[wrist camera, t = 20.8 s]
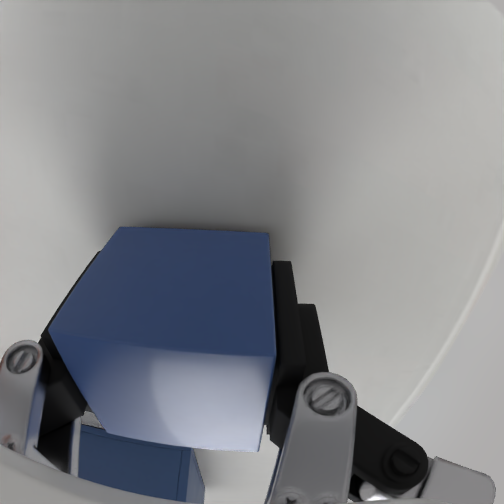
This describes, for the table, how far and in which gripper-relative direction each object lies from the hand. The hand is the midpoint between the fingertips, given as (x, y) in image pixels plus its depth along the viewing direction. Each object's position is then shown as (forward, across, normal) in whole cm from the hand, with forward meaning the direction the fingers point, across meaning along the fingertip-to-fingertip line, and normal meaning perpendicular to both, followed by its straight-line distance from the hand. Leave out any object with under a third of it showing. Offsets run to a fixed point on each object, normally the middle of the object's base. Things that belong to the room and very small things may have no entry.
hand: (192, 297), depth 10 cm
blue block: (0, 0, 0) cm, 0 cm away
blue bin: (+1, +8, +20) cm, 21 cm away
